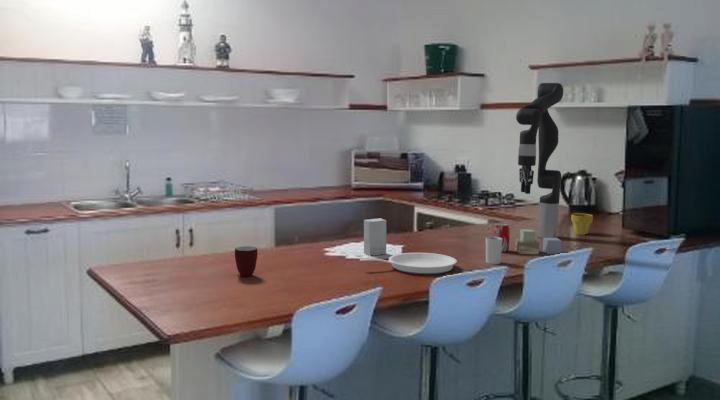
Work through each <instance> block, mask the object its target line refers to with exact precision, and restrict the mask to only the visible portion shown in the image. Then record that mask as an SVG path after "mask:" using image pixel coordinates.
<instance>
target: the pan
mask: <svg viewBox="0 0 720 400" xmlns="http://www.w3.org/2000/svg"><path fill="white" fill-rule="evenodd" d="M359 261H360V262H368V261H377V262H378V261H379V262H383V263H388V264H391V265H392V268H393V269H395V270H396V271H399V272H402V273H406V274H413V275H438V274H440V275H441V274H444V273H445V274H446V273H448V272H450V271H451V270H452V269H453V268H454V265H455V264H457V262H458V260H457V259H456V258H455V257H453V256H449V255H446V254H441V253H440V254H439V253H434V252H433V253H432V252H404V253H398V254H394V255H391V256H390V257H388V260H385V259H381V258H369V257H368V258H360V259H359Z"/></svg>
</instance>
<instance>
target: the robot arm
mask: <svg viewBox="0 0 720 400" xmlns="http://www.w3.org/2000/svg"><path fill="white" fill-rule="evenodd" d="M563 96H564V87H563V85H562V83H559V82H541V83H540V84H539V85H538V87H537V97H536V98H535V99H533V101H532V102H530V103H529V104H528V105H525V106H522V107H521V108H520V109H519V110H518V111H517V113H516V115H515V117H516V118H515V119H516V121H517V123H518V124H519V125H521V126H530V128H528V129H525V130H522V131H520V133H519V147H518V153H517V154H518V158H517V159H518V160H517V164H518V166H521V168H519V171H518V172H519V174H518V175H519V183H520V192H521V193H524V194H526V195H530V194H531V187H532V185H533V183H534V175H535V174H534V173H535V171H534V170H533V169H532V167H535V166H536V164H537V163H538V164H537V166H538V167H537V178H536V179H537V187H538V188H539V189H546V190H547V189H548V190H551V192H550V193H548V194H545V195H541V196H540V197H539V208H538V209H539V211H538V228H537V229H538V230H537V237H538V238H541V239H543V238H558V231H559V230H558V229H559V215H560V214H559V209H560V198H561V197H560V195H561V184H562V173H561V171H560V170H557V169H556V170H555V169H546V168H547V163H548V161H549V159H550V157H551V156H552V154H553V153H554V152H555V150H556V149H557V147H558V144H559V128H558V126H557V125H556V123H555V121H554V119H553V118H552V116H551V115H550V114H551V113H549V109H550V108H552V106H554V105H556V104H558V103H559V102H561V100H562V99H563V98H564V97H563ZM537 137H538V162H537ZM536 162H537V163H536Z"/></svg>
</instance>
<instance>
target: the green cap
mask: <svg viewBox="0 0 720 400" xmlns="http://www.w3.org/2000/svg"><path fill="white" fill-rule="evenodd" d="M519 239H520V241H522V242H535V240H536V231H535V230H533V229H523V228H522V229H520V232H519Z"/></svg>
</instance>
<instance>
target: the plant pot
mask: <svg viewBox="0 0 720 400" xmlns="http://www.w3.org/2000/svg"><path fill="white" fill-rule="evenodd" d="M593 218H594V216H593V214H590V213H589V214H588V213H581V212H580V213H578V212H577V213H572V214H571V217H570V219H571V222H572V228H573V233H574V234H575V235H579V236H581V235H582V236H585V234H587V235H588V234H589V231H590V227H591V225H592V223H593V222H594V221H593V220H594V219H593Z"/></svg>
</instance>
